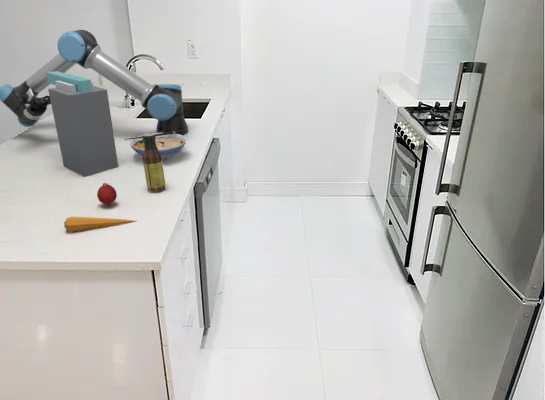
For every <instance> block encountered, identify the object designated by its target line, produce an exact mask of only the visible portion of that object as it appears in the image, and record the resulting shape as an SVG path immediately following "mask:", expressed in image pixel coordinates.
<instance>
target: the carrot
mask: <svg viewBox="0 0 545 400" xmlns="http://www.w3.org/2000/svg"><path fill="white" fill-rule="evenodd" d="M134 222H136V220H133V219H123V218H122V219H121V218H110V217H109V218H106V217H105V218H104V217H92V216H91V217H89V216H88V217H87V216H69V217H66V219H65V221H64V223H63V224H64V225H63V226H64V229H65V230H66V231H67V232H69V233H74V232H81V231H86V230H87V231H88V230H92V229H98V228H100V229H101V228H105V227H112V226H119V225H125V224H129V223H134Z"/></svg>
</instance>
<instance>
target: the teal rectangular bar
mask: <svg viewBox="0 0 545 400" xmlns="http://www.w3.org/2000/svg"><path fill="white" fill-rule="evenodd" d="M46 74H47V79H48V83H50V85H53V86H56V85H55V81H63V82H66V83H70V84H74V85H75V88H76V91H77V92H81V93H84V92H91V91H92V85H91V82H92V80H91V79H89V78H85V77H81V76H77V75H73V74H70V73H66V72H65V73H62V72H58V71H54V72H46Z"/></svg>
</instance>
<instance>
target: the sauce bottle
mask: <svg viewBox="0 0 545 400" xmlns="http://www.w3.org/2000/svg"><path fill="white" fill-rule="evenodd" d="M154 133H155V132H145V133H143V134H142V135H143V140H144V145H145V146H144V147H145V149H144V152H143V156H142V161H143V169H144V176H145V182H146V183H145V184H146V187H147V191H148V192H151V193H160V192H163V191H164V190H166V181H165V180H166V179H165V172H164V166H163V165H164V164H163V160H162V157H161V155H160V153H159V151H158V148H157V146H156V141H155V138H156V137H155V134H154Z"/></svg>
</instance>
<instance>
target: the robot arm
mask: <svg viewBox="0 0 545 400" xmlns="http://www.w3.org/2000/svg"><path fill="white" fill-rule="evenodd" d="M57 50H58V54H56V55H55V56H54V57H53V58H52V59H50V60H49V61H47V63H45V64H44V65H43V66H42V67H40V68H39V69H38V70H37V71H36V72H34V73H33V74H32V75H31V76H29V77H28V78H27V79H25V81H23V82H22V83H20V85H17V86H14V87H13V86H12V85H11V84H9V83H5V84H3V85H2V86H0V102H1V103H3V104H4V105H5V107H7V108H8V109H9V110H10V111H11V112H12V113H13V114H14V115H15V116H16V117H17V121H18V123H19V124H20V125H21V126H23V127H25V128H30V127H31V128H32V127H34V125H36V124H37V123H38V121H39V120H40V119H41V117H42V116H43V115H44V114H45V113H46V111H47V109H48V106H49V105H51V101H50V96H49V95H44V96H42V97H41V96H40V97H38V95H39V94H40V93H41V92H42V91H44V90H45V89H46V88H47V87H49V86H50V85H51V84H50V83H48V79H47V74H46V72H54V71H58V72H62V73H66V72H68V71H69V70H70V69H71V68H72V67H74V66H75V65H76V64H77V65H79V66H80V67H82V69H85V70H86V69H87V70H88V69H92V70H93V71H94V72H96V73H98V74H99V75H100V76H102V77H103V78H105V79H106V80H108V81H109V82H111V83H113V84H114V85H115V86H117V87H118V88H120V89H122V90H123V91H124V92H126V93H128V94H129V95H131V96H132V97H134V98H135V99H136V100H138V101H140V104H141V107H142V108H143V109H146V110H147V112H148V113H149V116H151V118H153V119H154V120H157V123H156V127H155V129H156V133H166V132H172V131H179V130H183V131H184V133H177V134H180V135H182V134H183V135H185V133H186V134H187V133H188V132H189V127H188V124H187V121H186V119H185V117H184V108H183V107H184V106H183V95H182V93H183V91H182V86H181V85H180V84H177V83H176V84H175V83H174V84H173V83H165V84H164V83H163V84H162V83H161V84H157V83H154V84H150V83H149V82H147V81H146V80H144V79H143V78H141V77H140V76H139V75H137V74H136V73H134V72H133V71H132V70H130V69H128V68H127V67H125V66H124V65H122V64H121V63H120V62H118V61H116V60H115V59H114V58H112V57H110V55H107V54H106V53H104V51H102V49H101V46H100V45H99V44H98V41H97V39H96V37H95V36H94V34H93V33H91V32H90V31H88V30H87V29H78V30H70V31H66V32H64V33H63V34H61V35H60V36H59V38H58V40H57ZM183 135H182V136H183Z"/></svg>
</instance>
